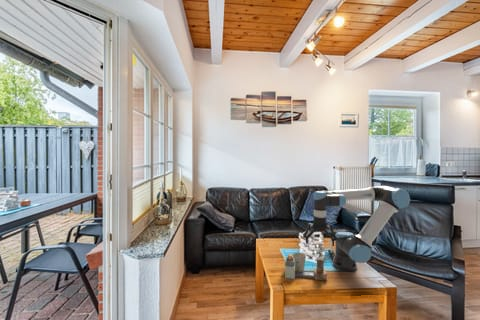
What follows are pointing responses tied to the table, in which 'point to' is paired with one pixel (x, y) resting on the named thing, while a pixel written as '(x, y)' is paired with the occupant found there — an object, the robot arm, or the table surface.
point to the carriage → (320, 270)
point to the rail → (304, 274)
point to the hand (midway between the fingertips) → (319, 249)
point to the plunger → (289, 257)
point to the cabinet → (289, 268)
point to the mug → (299, 261)
